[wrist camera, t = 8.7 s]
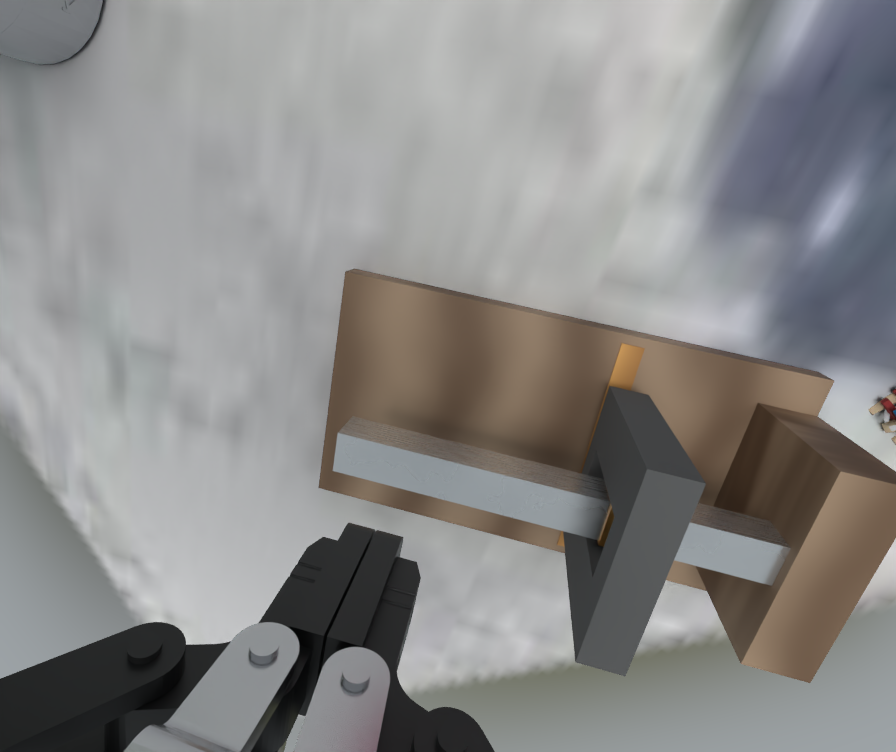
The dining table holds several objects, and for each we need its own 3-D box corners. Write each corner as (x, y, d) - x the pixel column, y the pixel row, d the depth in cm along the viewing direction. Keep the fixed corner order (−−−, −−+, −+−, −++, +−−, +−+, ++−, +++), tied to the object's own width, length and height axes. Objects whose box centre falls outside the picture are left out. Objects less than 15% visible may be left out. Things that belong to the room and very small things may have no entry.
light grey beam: (348, 453, 26) (331, 475, 23) (354, 412, 25) (336, 431, 23) (750, 556, 24) (772, 591, 22) (769, 516, 23) (794, 547, 21)
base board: (327, 476, 34) (258, 563, 25) (354, 268, 29) (281, 290, 21) (721, 579, 31) (791, 714, 23) (818, 372, 27) (950, 444, 18)
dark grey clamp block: (562, 530, 29) (575, 662, 20) (609, 385, 26) (647, 469, 17) (597, 539, 28) (625, 676, 20) (648, 394, 26) (706, 483, 17)
